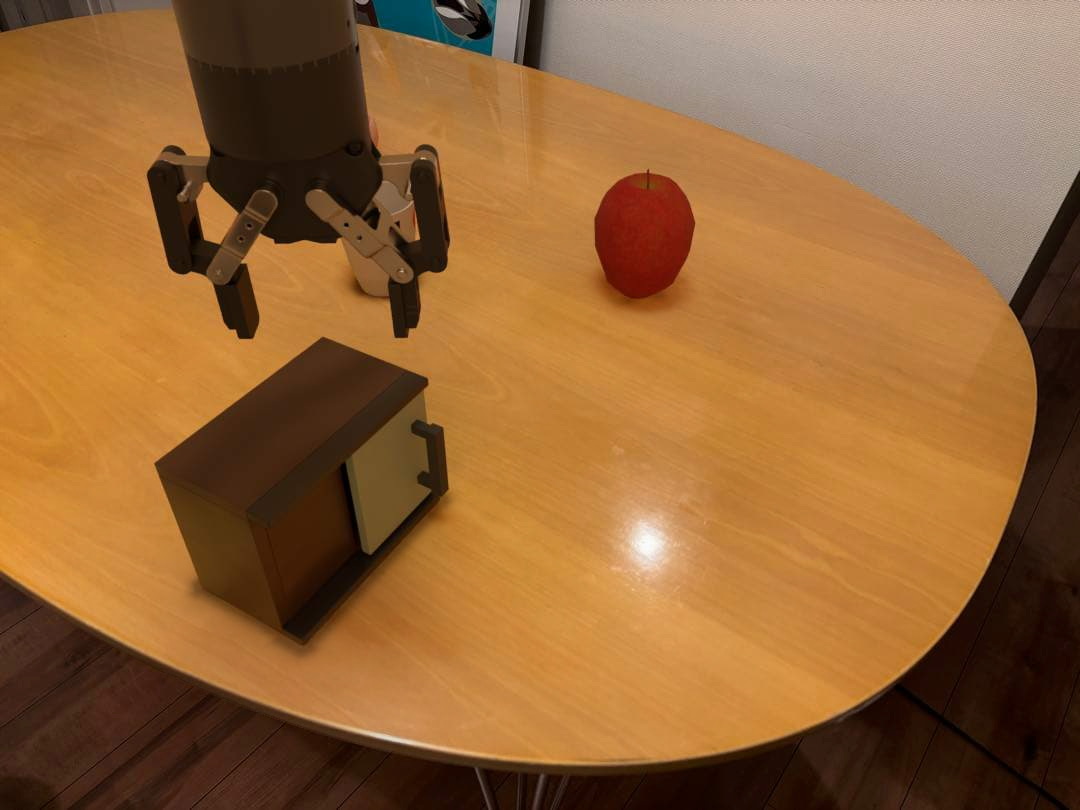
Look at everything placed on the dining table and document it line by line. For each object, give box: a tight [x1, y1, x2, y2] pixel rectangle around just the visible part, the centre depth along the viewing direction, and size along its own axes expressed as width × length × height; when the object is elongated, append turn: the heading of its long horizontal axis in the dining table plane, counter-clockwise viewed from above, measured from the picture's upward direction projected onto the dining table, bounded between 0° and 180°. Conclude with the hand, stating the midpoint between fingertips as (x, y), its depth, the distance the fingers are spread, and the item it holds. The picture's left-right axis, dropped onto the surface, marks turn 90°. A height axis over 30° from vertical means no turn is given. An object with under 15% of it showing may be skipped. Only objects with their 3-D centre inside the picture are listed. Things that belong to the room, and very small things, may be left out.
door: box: [345, 389, 450, 555], centre depth 64 cm, size 3×8×10 cm, turn 149°
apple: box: [593, 168, 696, 300], centre depth 90 cm, size 10×10×14 cm
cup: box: [340, 181, 417, 298], centre depth 92 cm, size 8×8×10 cm
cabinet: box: [153, 336, 441, 646], centre depth 63 cm, size 10×16×12 cm, turn 149°
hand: (327, 330), depth 49 cm, fingers open, 8 cm apart
